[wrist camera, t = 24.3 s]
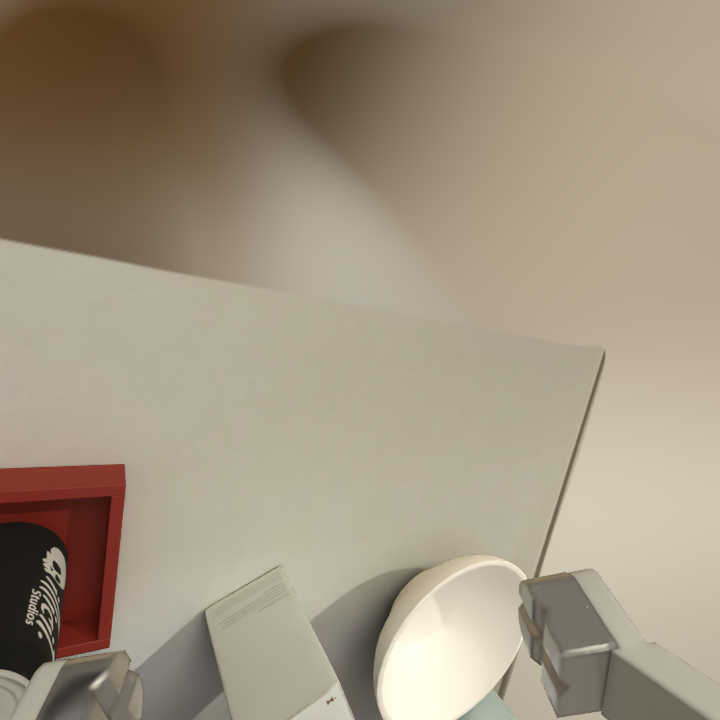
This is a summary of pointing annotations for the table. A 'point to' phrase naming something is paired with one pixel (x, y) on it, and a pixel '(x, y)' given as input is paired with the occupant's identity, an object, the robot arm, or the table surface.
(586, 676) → the robot arm
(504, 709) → the mug
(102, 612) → the tray
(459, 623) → the bowl
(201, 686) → the table surface
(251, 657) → the white packaging box
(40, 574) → the beverage can
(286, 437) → the table surface
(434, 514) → the table surface
